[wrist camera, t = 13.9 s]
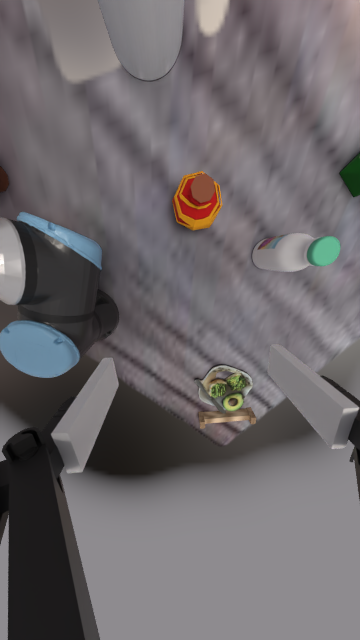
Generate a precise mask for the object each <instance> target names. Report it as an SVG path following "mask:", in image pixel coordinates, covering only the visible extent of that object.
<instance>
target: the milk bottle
mask: <svg viewBox="0 0 360 640" xmlns="http://www.w3.org/2000/svg"><path fill="white" fill-rule="evenodd" d="M339 252H340V243H339V241H338V240H337V239H336V238H335V237H331V236H326V237H319V238H316V239H314V238H313V237H311V236H309V235H307V234H303V233H293V234H287V235H281V236H276V237H272V238H267V239H264V240H262V241H260V242H259V243H258V244H257V245H256V246H255V248H254V250H253V253H252V259H253V262H254V264H255V266H256V267H258V268H260V269H264V270H272V271H282V272H294V271H298V270H301V269H304V268H306V267H307V266H309V265H311V266H326V265H329V264H331V263H332V262H333V261H334V260H335V259H336V258H337V257H338V255H339Z"/></svg>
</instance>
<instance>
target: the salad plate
mask: <svg viewBox="0 0 360 640" xmlns="http://www.w3.org/2000/svg"><path fill="white" fill-rule="evenodd" d="M221 371H231V372H234V374H232V375H230V376H229V377H227V378H226V379H219V378H216V373H218V372H221ZM195 383H196V385H197V386H198V387H199V391H198V393H199V396H200V399H201V400H202V401H203V402H205V403H207V404H210V405H213V406H216V407H217V409H218V410H219V411H220V412H221V413H223V414H224V413H225V414H226V411H230V412H233V411H236V410H238V409H239V408H240V407H241V406H242V405H243V403H244V397H245V396H246V395H247V394H248V392H249V391H250V390H251V388H252V386H253V382H252V379H251V377H250V376H249V375H248V374H247V373H246V372H244V371H242V370H238V369H236V368H233V367H230V366H226V365H219V366H216V367H213V368H212V369H211V370H210V371H209V372H208V373H207V375H206V376H205V378H204V379H203V380H199V379H196V380H195Z"/></svg>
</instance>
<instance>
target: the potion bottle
mask: <svg viewBox="0 0 360 640" xmlns="http://www.w3.org/2000/svg"><path fill="white" fill-rule="evenodd" d="M199 173H201V174H199ZM202 173H203V174H202ZM196 174H197V175H196ZM193 175H194V176H193ZM215 183H216V182H214V180H213V179H212V178H211V177H209V176H208V175H207V174H206V173H204V172H203V171H201V172H197V173H193V174H189V175H185V176H183V178H182V181H181V183H180V185H179V187H178V189H177V191H176V193H175V195H174V197H173V199H172V203H173V207H174V211H175V216H176V220H177V222H178V221H179V222H178V223H179V224H181V225H183V226H185V227H187V228H189V229H191V230H198V229H203V228H209V227H210V226H211V224H212V223H213V221H214V219H215V218H216V216H217V214H218V212H219V211H220V209H221V206H222V200H221V194H220V187H219V185H218V184H217V183H216V184H215ZM217 187H218V190H217ZM218 191H219V195H220V200H221V206H220V202H219V196H218Z"/></svg>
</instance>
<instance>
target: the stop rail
mask: <svg viewBox="0 0 360 640" xmlns="http://www.w3.org/2000/svg"><path fill="white" fill-rule="evenodd" d="M198 414H199V423H200V429H201V428H205V424H207V423H218V422H230V421H241V420H249V421H250V423H251V424H255V423H256V417H255V415H254V413H253V411H252V409H251V407H250V408H246V409H238V410H236V411H233V412H230V411H226V414H225V413H224V414H223V413H221V412H220V411H213V412H198Z"/></svg>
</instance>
